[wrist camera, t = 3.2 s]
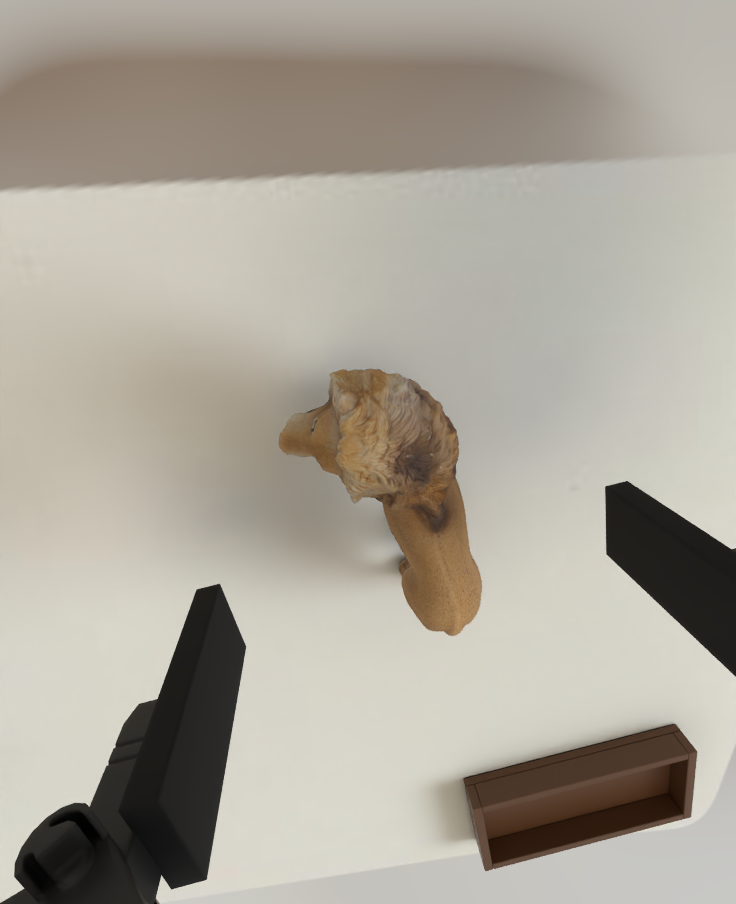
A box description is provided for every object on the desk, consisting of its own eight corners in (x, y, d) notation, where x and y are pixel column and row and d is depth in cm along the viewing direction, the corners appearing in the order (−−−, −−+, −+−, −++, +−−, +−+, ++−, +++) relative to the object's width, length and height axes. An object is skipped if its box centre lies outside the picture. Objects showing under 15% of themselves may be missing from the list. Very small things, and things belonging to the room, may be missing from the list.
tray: (675, 723, 32) (697, 751, 30) (671, 788, 35) (691, 817, 33) (463, 778, 32) (472, 809, 30) (476, 839, 34) (485, 871, 32)
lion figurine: (276, 372, 20) (249, 444, 12) (384, 312, 20) (434, 344, 11) (416, 602, 26) (466, 762, 17) (503, 560, 25) (596, 703, 17)
